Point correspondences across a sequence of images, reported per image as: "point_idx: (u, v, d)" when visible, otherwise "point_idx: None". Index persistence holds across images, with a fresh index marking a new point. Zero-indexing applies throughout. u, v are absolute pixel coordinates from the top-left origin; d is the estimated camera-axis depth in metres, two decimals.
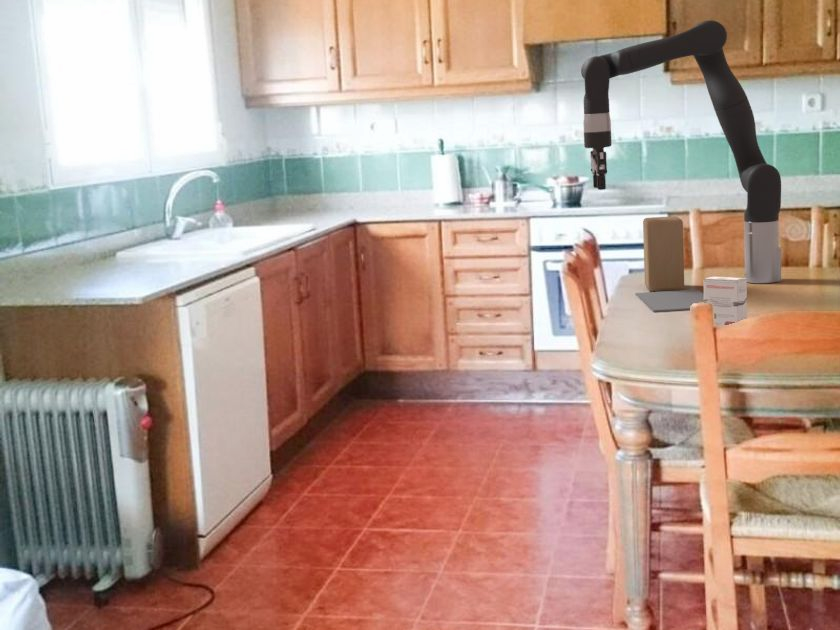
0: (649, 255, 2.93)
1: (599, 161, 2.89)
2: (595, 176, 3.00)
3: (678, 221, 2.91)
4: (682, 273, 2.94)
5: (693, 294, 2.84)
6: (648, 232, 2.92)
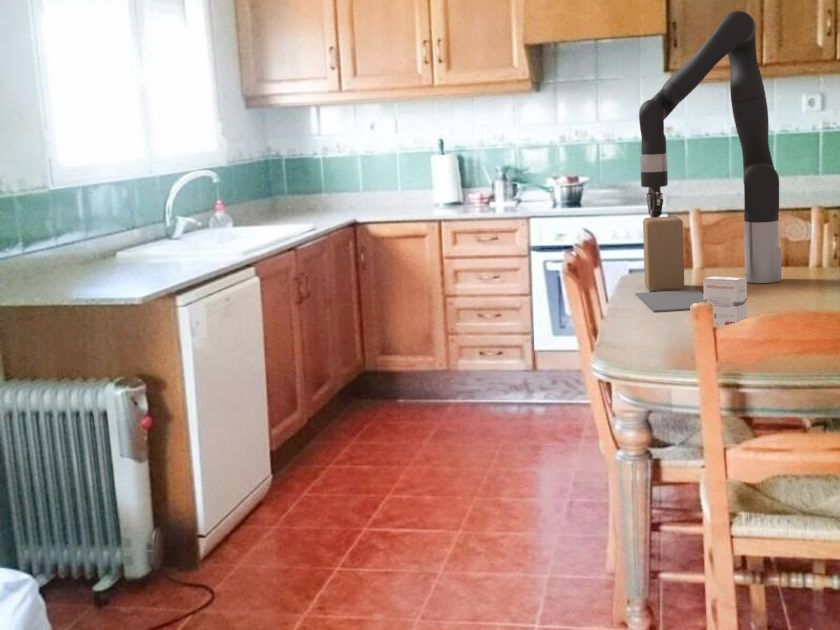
0: (649, 255, 2.93)
1: (655, 207, 3.02)
2: None
3: (678, 221, 2.91)
4: (682, 273, 2.94)
5: (693, 294, 2.84)
6: (648, 232, 2.92)
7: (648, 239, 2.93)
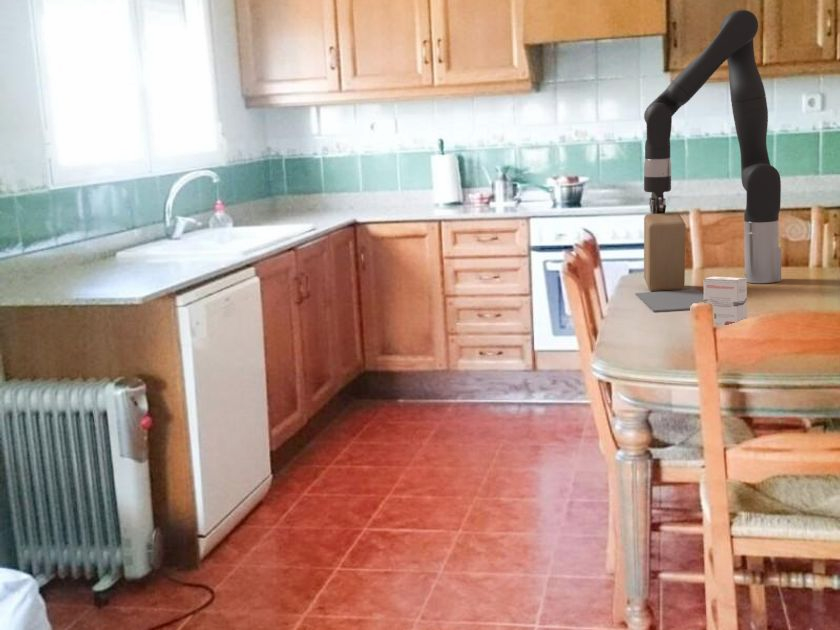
0: (650, 257, 2.91)
1: (658, 213, 2.96)
2: None
3: (681, 225, 2.87)
4: (683, 274, 2.93)
5: (693, 294, 2.84)
6: (650, 235, 2.88)
7: (650, 242, 2.89)
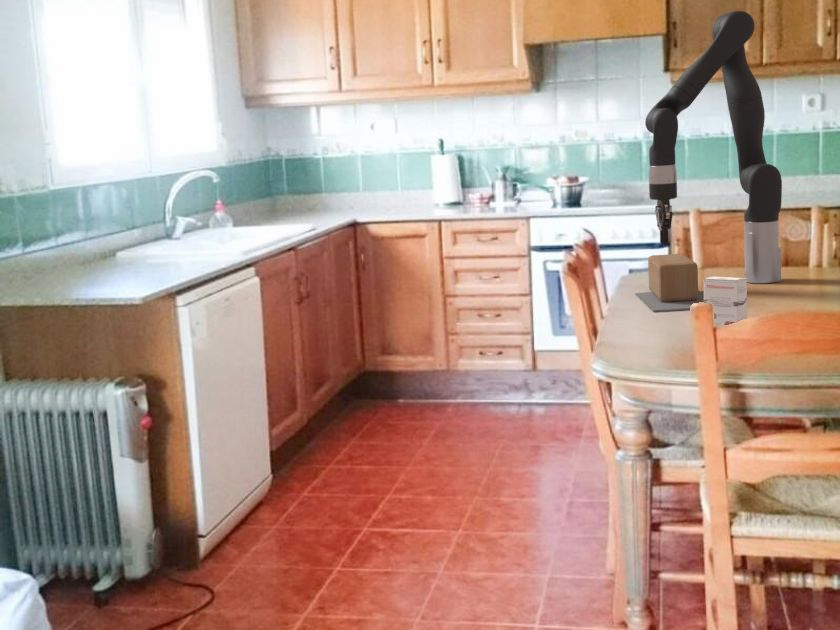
0: (656, 296, 2.85)
1: (664, 221, 2.89)
2: None
3: None
4: None
5: None
6: (660, 299, 2.78)
7: (658, 298, 2.80)
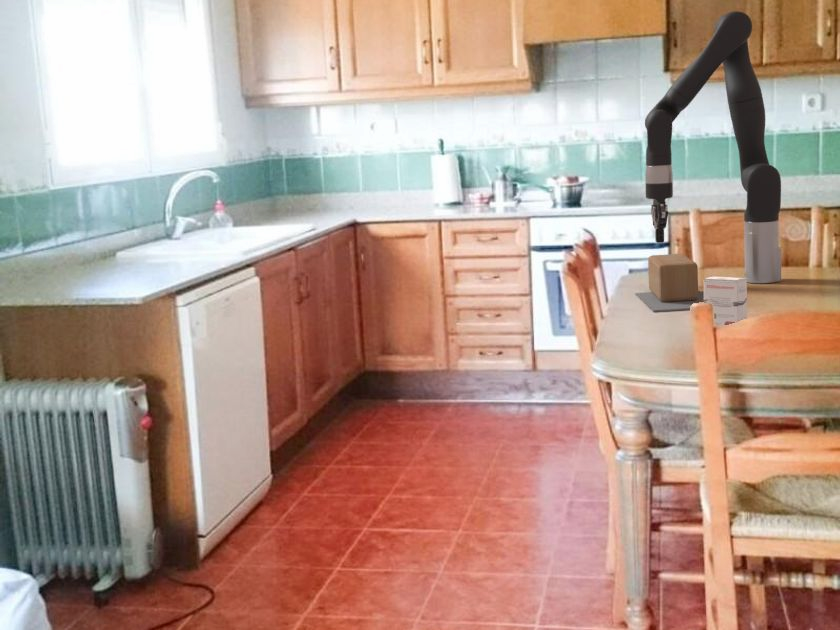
0: (656, 296, 2.85)
1: (660, 220, 2.95)
2: None
3: None
4: None
5: None
6: (660, 299, 2.78)
7: (658, 298, 2.80)
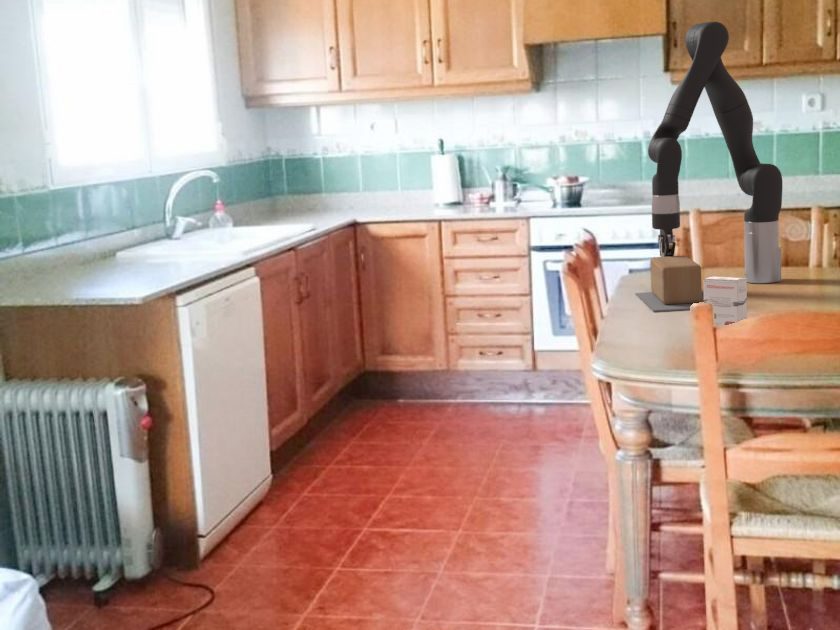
0: (659, 298, 2.81)
1: (667, 251, 2.87)
2: None
3: (697, 302, 2.71)
4: None
5: None
6: (663, 302, 2.74)
7: (661, 301, 2.76)
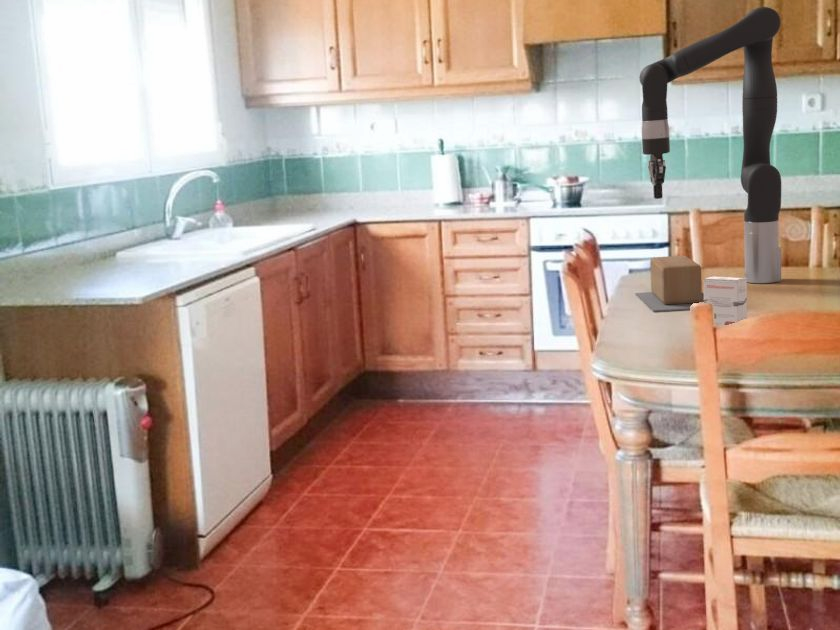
0: (659, 298, 2.81)
1: (658, 175, 2.93)
2: None
3: (697, 302, 2.71)
4: None
5: None
6: (663, 302, 2.74)
7: (661, 301, 2.76)
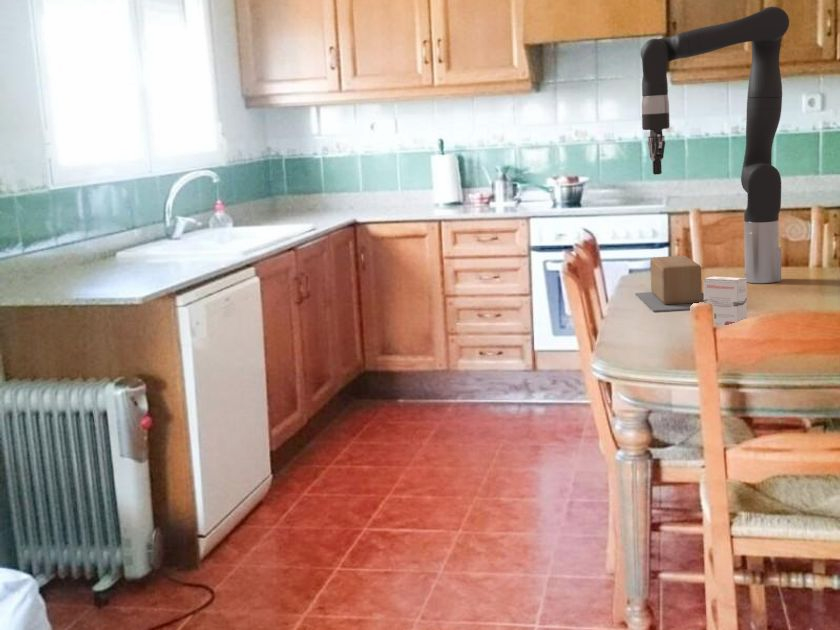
0: (659, 298, 2.81)
1: (657, 150, 2.94)
2: None
3: (697, 302, 2.71)
4: None
5: None
6: (663, 302, 2.74)
7: (661, 301, 2.76)
